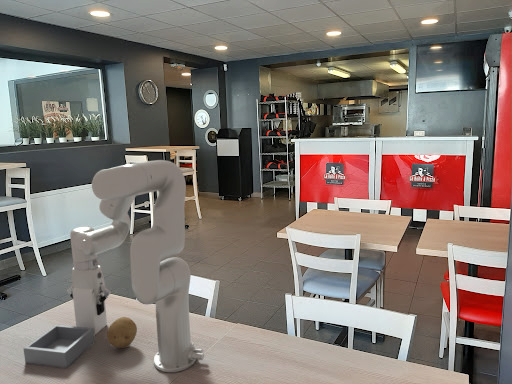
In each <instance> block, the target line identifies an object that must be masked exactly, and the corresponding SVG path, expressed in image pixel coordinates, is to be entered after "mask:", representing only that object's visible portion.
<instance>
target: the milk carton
mask: <svg viewBox="0 0 512 384" xmlns="http://www.w3.org/2000/svg"><path fill="white" fill-rule="evenodd" d="M92 291H93V289H80V288H74V290H73V299H72V300H73V309H74V318H75V326H76V327H86V328H94V336H96V335H97V334H98V333H99V332H101V330H102V329H104V328H105V326H107V325H108V320H107V319H108V317H107V310H106V300H105V301H104V312H103V313H102V314H100V315H97V306H96V305H97V304H98V303H97V301H96V297H95V296H94V292H92ZM100 291H101V290H100ZM101 293H102V292H101ZM102 294H103V296H104V293H102ZM98 297H99V298H100V295H99V296H98Z"/></svg>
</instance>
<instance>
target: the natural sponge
mask: <svg viewBox="0 0 512 384" xmlns="http://www.w3.org/2000/svg"><path fill="white" fill-rule="evenodd" d="M137 331H138V328H137V324H136V322H135V321H134V320H133V319H131V318H129V317H126V316H123V317H120V318H117V319H116V320H115V321H113V322H112V323H111V324H110V326H108V329H107V333H106V337H107V342H108V343H109V345H110V346H112V347H115V348H120V349H125V348H128V347H129V346H130V345H131V344H132V343H133V341H134V340H135V338H136V336H137Z"/></svg>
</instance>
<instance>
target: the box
mask: <svg viewBox="0 0 512 384" xmlns="http://www.w3.org/2000/svg"><path fill="white" fill-rule="evenodd" d="M95 343H96V339H95V335H94V328H86V327H76V325H75V326H74V325H64V324H54V325H53V326H52V327H50V328H49V329H48V330H46V331H45V332H44V333H42V334H41V335H40V336H38V337H37V338H36V339H34V340H33V341H31V342H29V344H27V345H26V346H24V347H23V355H24V361H25V364H29V365H37V366H45V367H52V368H59V369H68V368H69V367H70V366H71V365H72V364H73V363H75V361H76V360H78V359H79V358H80V357H81V356H82V355H83V354H84V353H85V352H86V351H87V350H88V349H90V348H91V347H92V346H93V345H94V344H95Z"/></svg>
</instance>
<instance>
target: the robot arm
mask: <svg viewBox="0 0 512 384" xmlns="http://www.w3.org/2000/svg"><path fill="white" fill-rule="evenodd" d="M182 171H183V170H181V168H180V167H179V166H178V165H177V164H176V163H174V162H173V161H170V160H164V159H157V160H149V161H142V162H134V163H129V164H124V165H118V166H115V167H111V168H107V169H105V168H104V169H100V170H99V171H97V172H96V173H95V174H94V176H93V178H92V181H91V190H92V192H93V194H94V196H95V197H96V198H97V199H99V200H101V201H100V202H99V210H100V213H101V214H102V215H103V216H104V217H106V218H107V219H109V220H112V222H111V223H110V225H109V226H106V227H102V228H98V229H94V228H93V227H91V226H78V227H75V228H74V229H72V230H71V231H70V233H69V234H70V235H69V236H70V244H71V245H70V246H71V254H72V255H71V256H72V263H73V268H72V271H71V285H70V286H69V287H68V288H67V289H66V292H67V294H68V295H70V296H69V297H70V298H72V300H73V290H74V288H80V289H93V291H92V292H94V296H95V297H96V301H97V303H98V304H97V305H96V306H97V315H100V314H102V313H103V312H104V301H105V302H106V300H107V299H108V298H109V296H110V295H111V290H110V289H109V288H108V287H106V282H105V278H104V274H103V270H102V269H103V268H102V267H101V261H100V260H98V255H99V254H102V253H104V252H107V251H111V250H113V249H116V248H118V247H119V246H121V245H122V244H123V243H124V242H125V240H126V238H127V237H128V234H129V232H130V230H131V218H130V215H129V213H128V212H129V210H130V208H131V207H132V204H133V203H134V200H135V198H136V197H137V196H140V195H141V196H142V195H144V194H149V193H153V192H158V193H159V194H158V195H157V197H156V199H155V202H154V206H153V209H152V211H153V212H152V213H153V224H152V226H151V227H150V228H147V229H144V230H141V231H139V232H138V233H136V234H135V236H133V238H132V240H131V244H130V248H129V250H130V251H129V256H130V259H129V260H130V279H131V281H130V282H131V289H132V292H133V293H132V294H133V295H134V297H135V298H136V300H137V301H138V302H139V303H141V305H142V304H143V305H153V304H155V319H156V320H155V321H156V333H157V334H156V336H157V346H158V347H157V349H158V351H157V352H156V354H155V355H154V357H153V365H154V367H155V368H156V369H158V370H159V371H161V372H164V373H165V372H166V373H177V372H181V371H184V370H187V369H189V368H191V366H192V365H194V364H195V363H196V361H203V360H204V357H205V353H204V352H203V351H204V349H203V348H196V347H195V343H194V342H192V341H191V325H190V324H191V323H190V322H191V320H190V308H189V305H190V303H189V301H190V300H189V299H190V298H189V295H190V294H189V291H190V283H191V269H190V266H189V264H188V263H187V261H186V260H184V259H182V258H181V257H177V256H176V255H178V254H180V253H181V252H183V250H184V248H185V243H186V241H185V239H186V227H185V226H186V225H185V224H186V221H185V218H186V217H185V204H186V203H185V202H186V193H187V192H186V190H187V185H186V178H185V176H184V174H183V172H182ZM174 256H175V257H174ZM100 290H101V291H100ZM101 292H102V293H104V296H103V294H102V293H101ZM99 295H100V298H99V297H98V296H99Z"/></svg>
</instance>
